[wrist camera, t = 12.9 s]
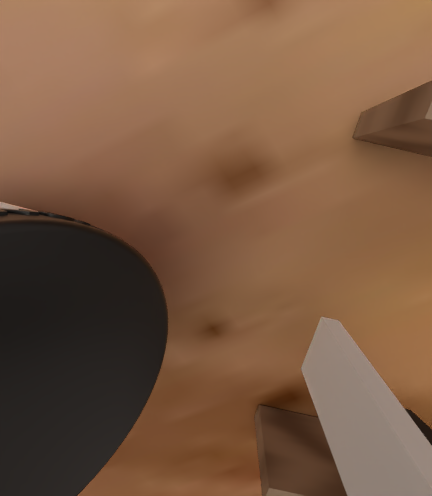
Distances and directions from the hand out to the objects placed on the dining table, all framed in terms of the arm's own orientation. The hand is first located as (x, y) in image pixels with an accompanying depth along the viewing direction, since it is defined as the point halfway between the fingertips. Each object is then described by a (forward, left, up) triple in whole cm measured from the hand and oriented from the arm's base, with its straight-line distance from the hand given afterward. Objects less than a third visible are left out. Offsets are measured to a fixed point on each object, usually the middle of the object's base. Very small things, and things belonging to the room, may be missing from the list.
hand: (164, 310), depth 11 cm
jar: (-11, -2, -2) cm, 12 cm away
